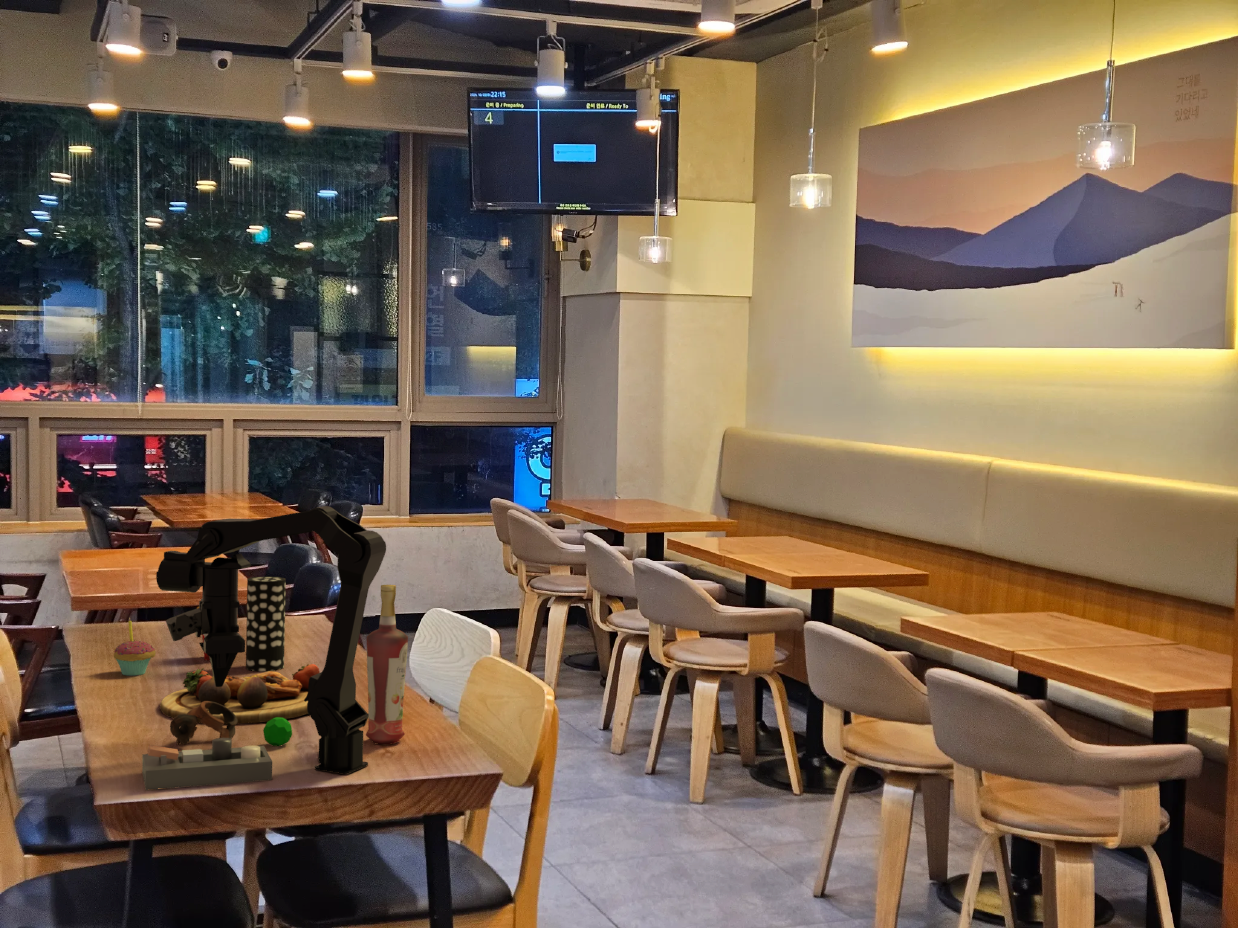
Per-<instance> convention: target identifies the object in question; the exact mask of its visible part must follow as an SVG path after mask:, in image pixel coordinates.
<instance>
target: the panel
mask: <svg viewBox="0 0 1238 928" xmlns="http://www.w3.org/2000/svg"><path fill="white" fill-rule="evenodd" d="M258 746H259V747H260V757H257V758H243V759H241V748H242V747H243V746H242V747H241V746H239V747H232V755H231V759H230V760H216V761H214V760H212V748H211V749H202V752H203V762H190V763H182V751H178V753H179V755H178V759H177V760H174V759H167V758H166V755H161V757H155V756H149V755H148V753H143V754H142V755H141V756H142V757H141V759H142V760H141V766H142V767H141V768H142V769H141V774H142V779H143V783H144V787H145V788H144V789H145V791H149V790H148V789H155V790H159V789H158V788H167V789H174V788H175V787H179V788H191V787H200V786H215V785H227V784H229V785H230V784H238V783H251V782H262V781H272V780H273V760H272V758H271V756H270V754H269V752H268V751H267V749H266V747H265V745H258ZM188 786H190V787H188ZM175 789H176V788H175Z"/></svg>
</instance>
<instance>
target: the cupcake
mask: <svg viewBox="0 0 1238 928" xmlns="http://www.w3.org/2000/svg"><path fill="white" fill-rule="evenodd" d="M128 633H129V634H128V635H129V641H125V642H123V643H120V644H119V645H117V647H115V648H114V652H113V658H114V659H115V660H116V662H117V664H118V666H119V669H120V671H121V675H123V676H135V677H136V676H141V675H144V674H146V672H147V669H148V666H149V663H150V660H151V659H152V658H154V657H155V656H156V653H157V652H156V648H155V647H154V646H153V645H152V644H149V643H148V642H147V641H144V640H143V641H141V640H134V636H133V635H134V633H133V622H132V620H131V618H130V617H128Z"/></svg>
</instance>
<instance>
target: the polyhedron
mask: <svg viewBox="0 0 1238 928" xmlns="http://www.w3.org/2000/svg"><path fill="white" fill-rule="evenodd" d="M262 731H263V738H264V741H265V742H266V743H267V744H269V745H270V746H272V747H281V745H282V746H284V745H286V744H287V743H288V742H290V740H291V738H292V736H293V729H292V724H291V722H289V721H288V719H284V718H281V717H276V718H273V719H271V720H270V721H268V722H265V725H264V727H263V730H262Z"/></svg>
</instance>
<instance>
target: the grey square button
mask: <svg viewBox="0 0 1238 928" xmlns="http://www.w3.org/2000/svg"><path fill="white" fill-rule="evenodd" d="M202 750H203V749H201V748H197V749H185V750H181V752H182V763H190V762H203V752H202Z"/></svg>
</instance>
